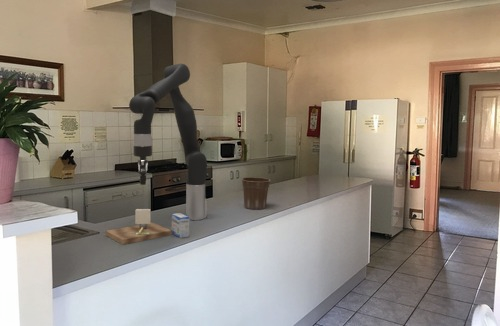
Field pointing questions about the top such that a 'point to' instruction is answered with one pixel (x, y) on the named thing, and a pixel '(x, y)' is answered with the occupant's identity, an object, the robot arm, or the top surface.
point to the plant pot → (255, 192)
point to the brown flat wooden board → (132, 235)
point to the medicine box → (180, 225)
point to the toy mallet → (142, 218)
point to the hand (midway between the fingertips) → (143, 182)
